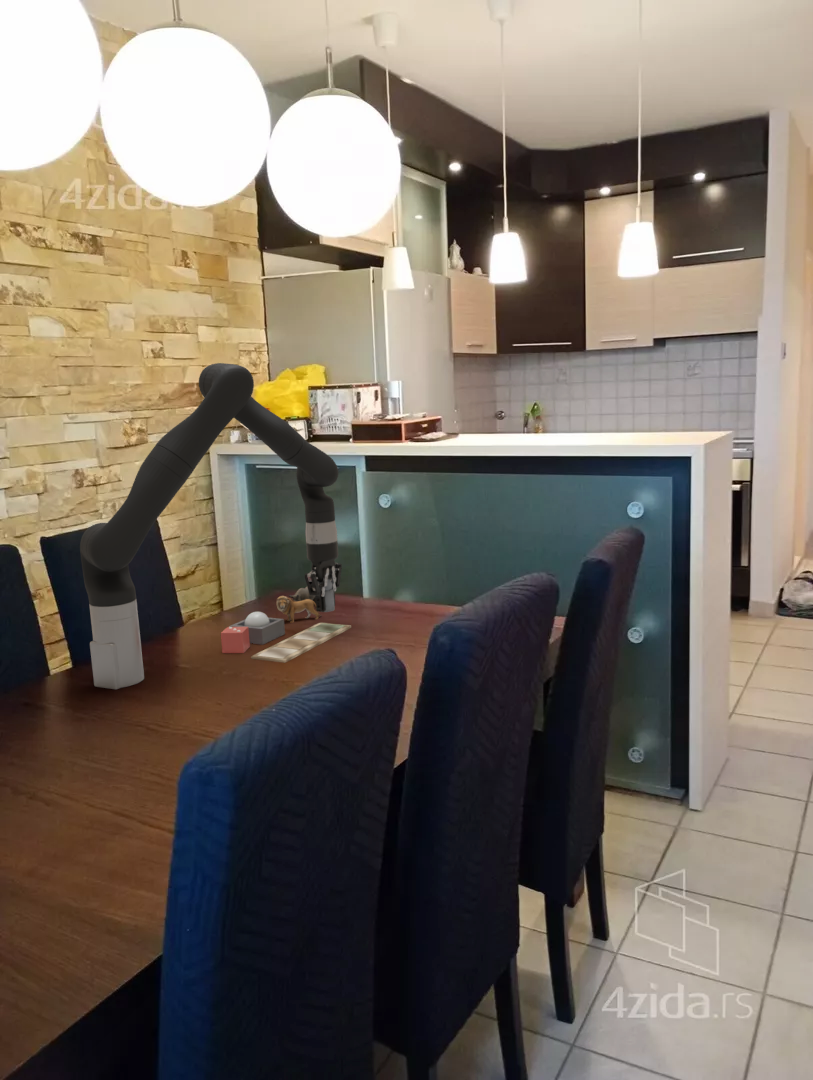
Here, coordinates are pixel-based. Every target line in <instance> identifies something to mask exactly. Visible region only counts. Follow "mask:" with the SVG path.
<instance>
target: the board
mask: <svg viewBox="0 0 813 1080" xmlns="http://www.w3.org/2000/svg"><path fill="white" fill-rule="evenodd" d="M350 629H352V625H350V624H340V623H331V622H330V623H329V622H318V623H316V624H313V625H312V626H310V627H308V628H306V629H304V630H302V631H300V632H297V633H296V634H294V635H292V636H289V637H288V638H286V639H283V640H281V641H280V642H277V643H276V644H273V645H271V646H270V647H267V648H265V649H264V650H260V651H258V652H257V653H255V654H253V655H252V656H250V658H251V659H252V660H260V661H267V662H275V663H284V664H285V663H288V662H290V661H291V660H293V659H295V658H296V657H299V656H301V655H303V654H304V653H306V652H308V651H310V650H312V649H314V648H316V647H317V646H319V645H321V644H323V643H325V642H327V641H329V640H330V639H332V638H334V637H336V636H338V635H341V634H342V633H344V632H346V631H348V630H350Z"/></svg>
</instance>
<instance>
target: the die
mask: <svg viewBox="0 0 813 1080" xmlns="http://www.w3.org/2000/svg"><path fill="white" fill-rule="evenodd" d="M220 638H221V639H220V640H221V652H222V654H244V653H246V651H247V650H248V649H249V648H250V647H251V643H250V641H249V628H248V627H230V626H227V627H226V628H224V629H223V631H221V632H220Z"/></svg>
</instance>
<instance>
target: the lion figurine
mask: <svg viewBox="0 0 813 1080" xmlns="http://www.w3.org/2000/svg"><path fill="white" fill-rule="evenodd" d="M275 603H276V607H277V610H278V611H279V612H281V613H282V614H283V615H286V616H287V619H286V622H289V623H295V614H298V613H302V612H304V611H305V610H306V612H307V616H305V617H304V619H309V618H310V616H312V615H314V616H315V617H314V620H319V617H322V616H323V615H322V614H320V612H319V611H317V609H316V604H315V602H314V601H313V600H310V599H306V600H302V601H294V600H293V598H291V597H289V596H285V595H280V596H279V597H277V598H276V602H275Z"/></svg>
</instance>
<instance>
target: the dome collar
mask: <svg viewBox="0 0 813 1080" xmlns="http://www.w3.org/2000/svg"><path fill="white" fill-rule="evenodd" d="M268 618H269V621H270V624H268V625H265V626H263V627H261V628H260V627H250V626H245V620H246V618H245V619H243V620H240V621H238V622H236V623H233V624H231V625H229V627H248V628H249V641H250V644H252V643H253V645H265V644H267V643H269V642H271V641H274V640H276V639H278V638H280V637H282V636H284V635H285V634H286V629H285V619H284V618H277V617H276V618H275V617H268Z"/></svg>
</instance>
